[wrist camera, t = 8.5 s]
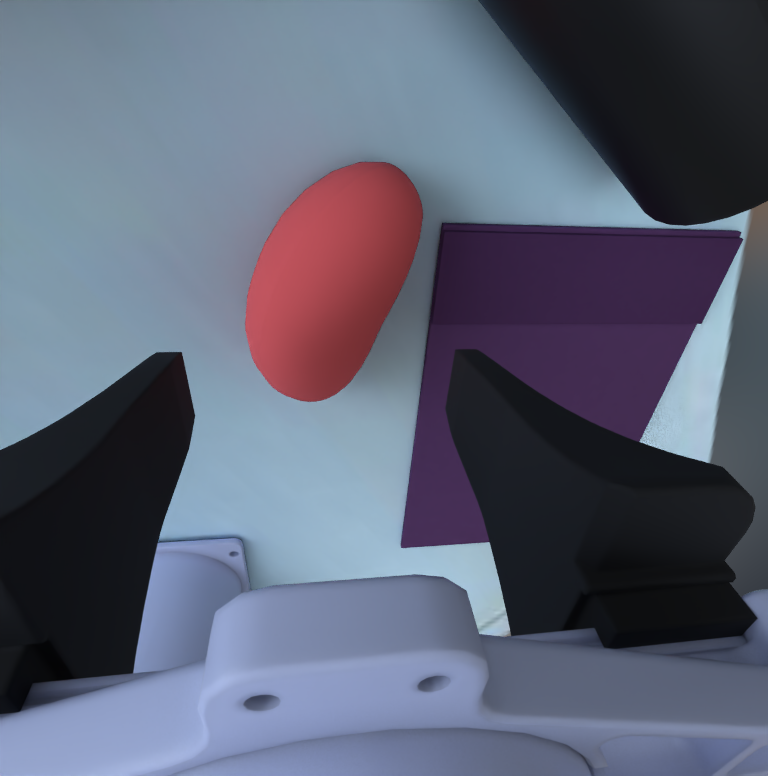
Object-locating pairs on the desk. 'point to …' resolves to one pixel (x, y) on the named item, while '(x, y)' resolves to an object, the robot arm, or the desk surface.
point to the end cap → (659, 93)
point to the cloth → (555, 336)
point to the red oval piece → (331, 278)
